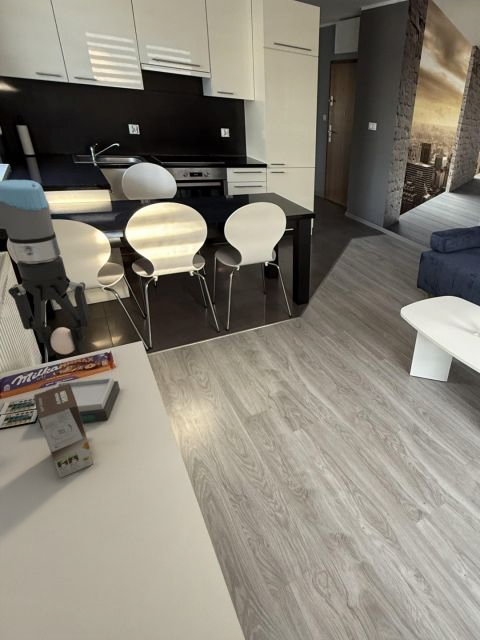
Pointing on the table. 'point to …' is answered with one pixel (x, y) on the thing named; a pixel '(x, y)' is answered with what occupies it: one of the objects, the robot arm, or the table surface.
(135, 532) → the table surface
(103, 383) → the kitchen scale
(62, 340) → the egg
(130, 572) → the table surface
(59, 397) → the coffee box
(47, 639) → the table surface
